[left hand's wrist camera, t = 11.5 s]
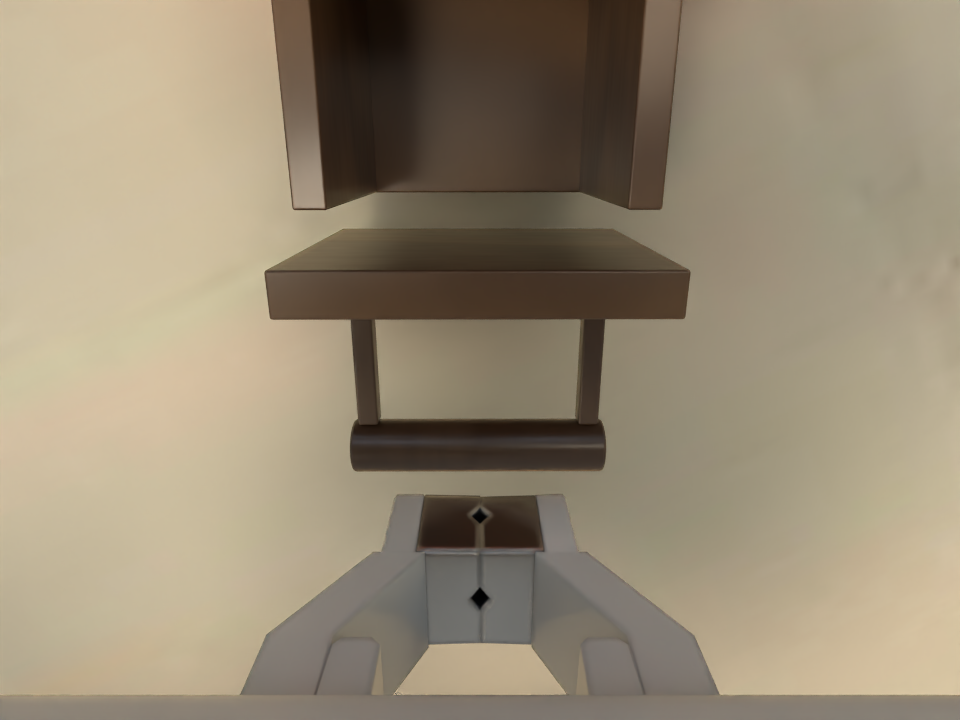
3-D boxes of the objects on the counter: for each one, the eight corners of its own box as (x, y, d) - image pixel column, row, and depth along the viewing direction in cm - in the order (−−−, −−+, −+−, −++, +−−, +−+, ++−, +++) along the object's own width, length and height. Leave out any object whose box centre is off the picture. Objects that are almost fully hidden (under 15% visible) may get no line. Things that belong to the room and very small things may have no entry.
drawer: (602, 394, 24) (663, 512, 16) (354, 394, 24) (292, 513, 16) (663, -455, 16) (850, -1071, 8) (289, -455, 16) (98, -1072, 8)
